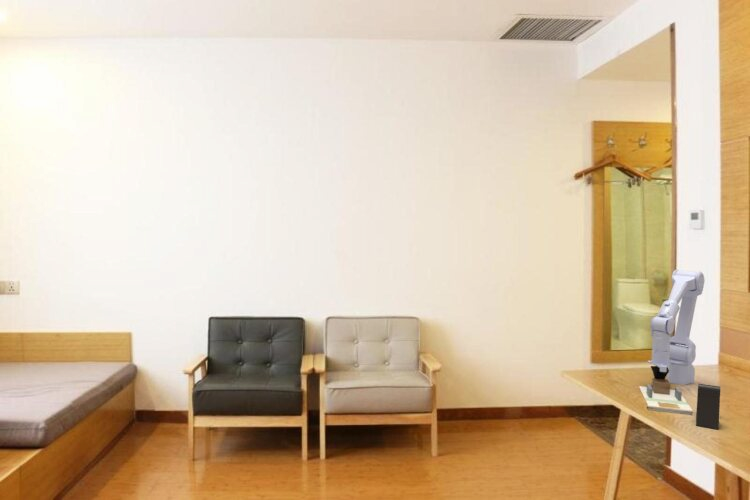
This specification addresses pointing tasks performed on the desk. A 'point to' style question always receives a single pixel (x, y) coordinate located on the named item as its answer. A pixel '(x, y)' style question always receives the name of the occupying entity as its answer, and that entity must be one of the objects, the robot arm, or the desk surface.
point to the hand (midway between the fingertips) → (658, 386)
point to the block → (661, 386)
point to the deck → (674, 396)
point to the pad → (666, 401)
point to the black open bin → (708, 406)
